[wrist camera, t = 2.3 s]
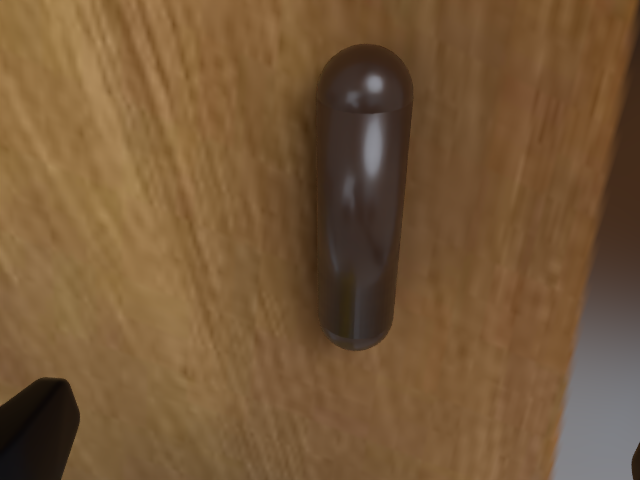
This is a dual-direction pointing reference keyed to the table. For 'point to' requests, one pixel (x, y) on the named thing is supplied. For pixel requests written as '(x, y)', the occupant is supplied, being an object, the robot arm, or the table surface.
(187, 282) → the table surface
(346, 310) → the stick
